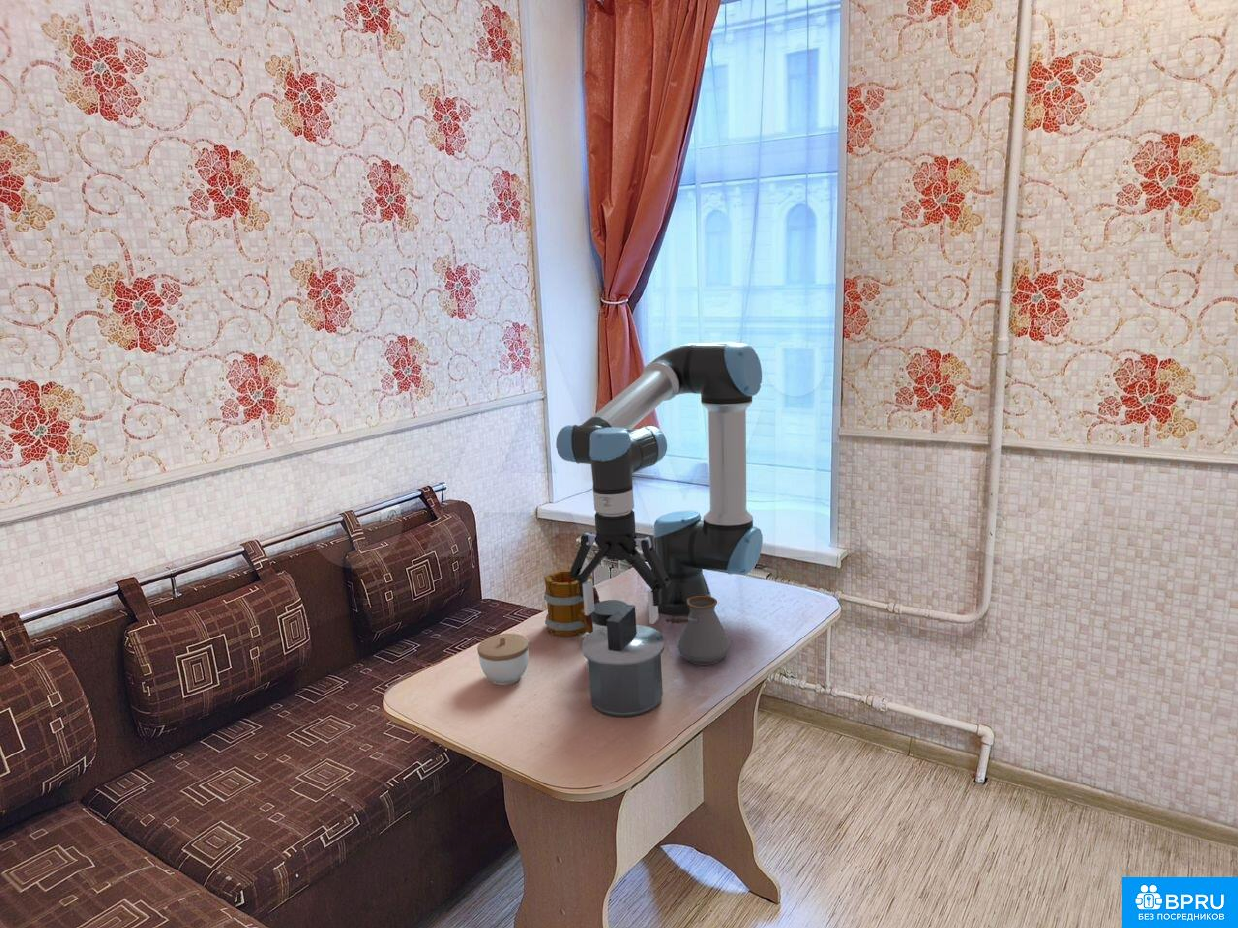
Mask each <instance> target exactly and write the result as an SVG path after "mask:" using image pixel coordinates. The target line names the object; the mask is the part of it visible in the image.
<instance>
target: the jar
mask: <svg viewBox="0 0 1238 928" xmlns="http://www.w3.org/2000/svg"><path fill="white" fill-rule="evenodd" d="M623 604H625V605H628V603H626V602H625V601H622V600H614V599H611V600H610V599H607V600H603V601H600V602H598V603H596V604H594V611H593V612H592V613H591V618H592V624H593V632H594V631H596V630H598V629H601V628H604V627H607V620H608V619H609V618H610V617H611V616H612V615H613V614H614V613H615V612H616V611H617V610H618V609H619V608H620V607H621V606H622V605H623Z"/></svg>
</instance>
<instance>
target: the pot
mask: <svg viewBox="0 0 1238 928" xmlns="http://www.w3.org/2000/svg"><path fill="white" fill-rule="evenodd" d="M587 635H589V633H588V634H586V635H585V637H586V636H587ZM661 655H662V653H661V654H660V655H659V656H658V657H656V658H655V659H653V660H651V661H648V662H646V663H643V664H639V665H634V666H626V667H611V666H604V665H599V664H596V663H593V662H591V661H589V660H588V659H587V666H588V681H589V694H590V702H591V705H592V708H593V709H594V710H596V712H598V713H599V714H600V713H601V714H602V715H605V716H608V717H613V718H633V717H637V716H643V715H645V714H648V713H650V712H652V711H654V710H655V709H656V708H658V707H659V706H660V704H661V703H662V701H663V695H664V694H663V678H662V677H663V674H662V659H661V658H662V657H661Z"/></svg>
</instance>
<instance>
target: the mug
mask: <svg viewBox="0 0 1238 928" xmlns="http://www.w3.org/2000/svg"><path fill="white" fill-rule="evenodd" d="M570 571H571V569H569V570H568V569H566V570H559V571H555V572H552V573H550V574H548V575H547V576H545V577H544V584H545V591H544V595H543V599H544V601H546V604H547V614H546V616H545V621H544V623H545V625H546V626H547V631H548V632H549V633H550V634H552V635H556V636H561V637H569V636H570V637H572V636H578V635H581V634H583V633H585V632H587V633H588V634H590V633H592V632H593V624H592V618H591V613H590V614H589V615H585V610H584V597H581V596H580V592H579V582H578V581H577V580H576V579H574V578H573V579H571V578H570V577H569V573H570ZM588 579H592V584H593V585H594V577H593V576H592V575H591V574H590V575H589V577H588V578H587V580H588ZM593 597H594V604H596V603H598V602H601V601H600V597H599V593H598V591H597V588H596V587H594V586H593Z"/></svg>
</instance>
